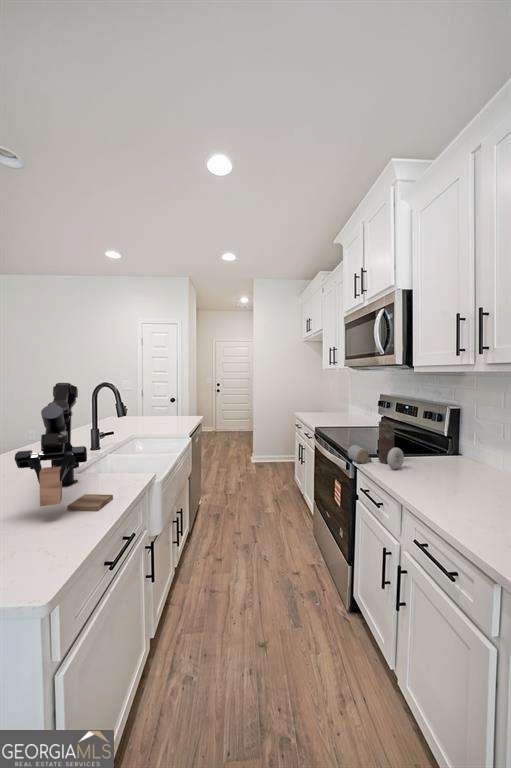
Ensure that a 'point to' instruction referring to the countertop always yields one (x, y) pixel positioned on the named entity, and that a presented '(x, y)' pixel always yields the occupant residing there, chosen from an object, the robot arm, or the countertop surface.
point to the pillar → (50, 486)
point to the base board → (90, 502)
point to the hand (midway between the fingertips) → (50, 481)
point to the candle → (385, 440)
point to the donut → (394, 454)
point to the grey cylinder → (358, 454)
